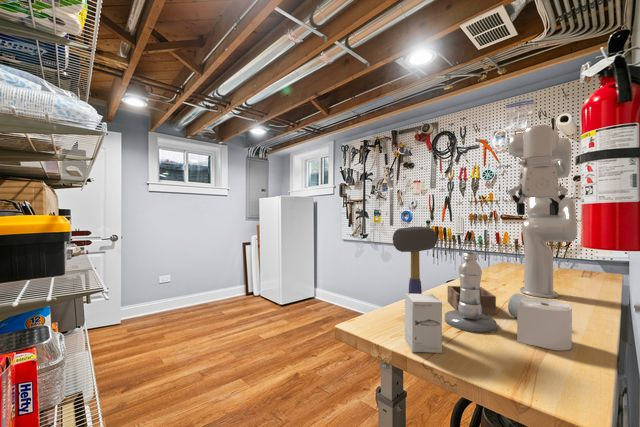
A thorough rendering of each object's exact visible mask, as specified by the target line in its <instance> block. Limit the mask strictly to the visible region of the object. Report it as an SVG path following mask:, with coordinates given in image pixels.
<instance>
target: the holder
mask: <svg viewBox="0 0 640 427" xmlns="http://www.w3.org/2000/svg"><path fill="white" fill-rule="evenodd" d="M460 287H461V286H460V285H447V303H448V304H449V305H450V306H451V307H452V308H453V309H454V310H459V309H458V306H459V301H460V291H461V289H460ZM480 304H481V307H482V314H484V315H497V296H495V295H494V294H492V293H491V292H489V290H487V289H485V288H484V287H482V286H480Z"/></svg>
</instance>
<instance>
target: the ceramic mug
mask: <svg viewBox="0 0 640 427" xmlns="http://www.w3.org/2000/svg"><path fill="white" fill-rule="evenodd" d="M522 298H531V297H530V296H527V295H526V294H523V293H514V294H513V295H512V296H511V297H510V298H509V300H508V304H507V309H508V312H509V314H510V315H511V317H513V318H515V319H517V305H519V306H520V300H521V299H522Z"/></svg>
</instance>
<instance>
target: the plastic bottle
mask: <svg viewBox="0 0 640 427" xmlns="http://www.w3.org/2000/svg"><path fill="white" fill-rule="evenodd" d="M477 255H478V254H477V252H463V257H462V259H463V261H462V262H461V263H460V265H459V267H458V275H459V276H458V277H459V286H461V287H460V289H461V291H460V301H459V306H458V309H459V313H460V315H461V316H462V317H464V318H467V319H474V320H475V319H479V318H480V317H481V315H482V307H481V304H480V287H481V280H482V275H483V274H482V273H483V272H482V268H481V266H480V264H479V263H478V262H477V261H478V256H477Z"/></svg>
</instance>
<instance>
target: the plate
mask: <svg viewBox="0 0 640 427" xmlns="http://www.w3.org/2000/svg"><path fill="white" fill-rule="evenodd" d="M444 321H445V323H446V324H448V325H449V326H451V327H452V328H455V329H458V330H461V331H465V332H469V333H477V334H478V333H479V334H485V333H486V334H490V333H493V332H495V331H497V328H498V327H497V321H496V320H495V319H494V318H493V317H491V316H489V315H488V314H482V315H481V317H480V318H479V319H475V320H474V319H467V318H464V317H462V316H461V315H460V313H459V310H455V309H454V310H449V311H445V314H444Z"/></svg>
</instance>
